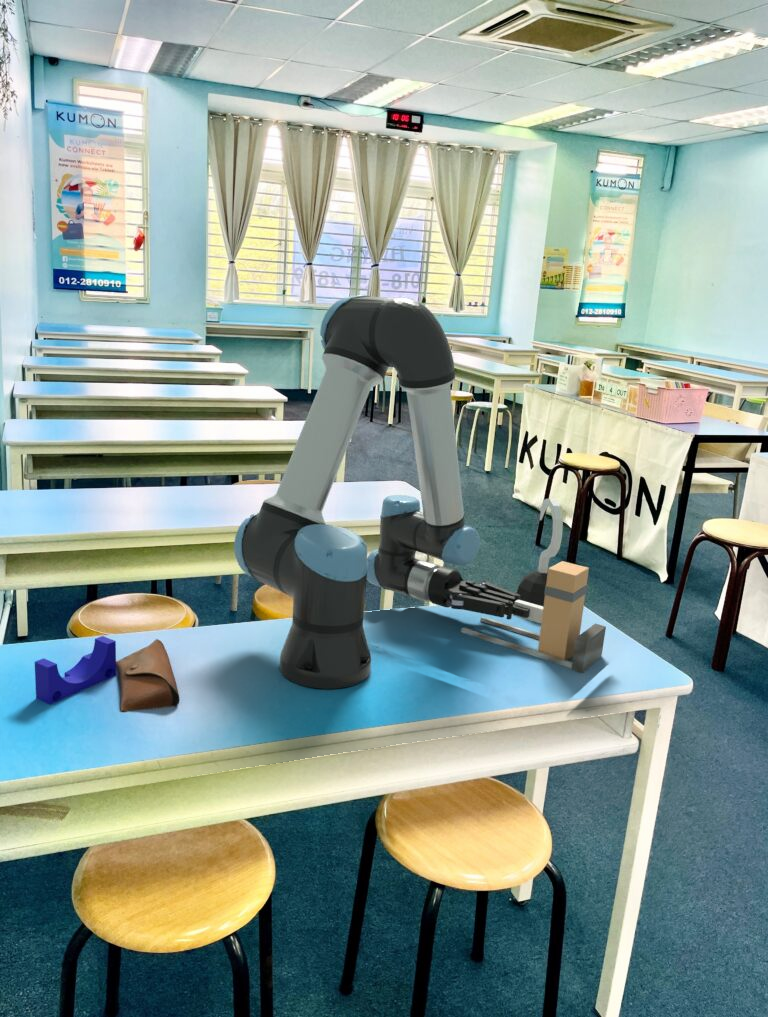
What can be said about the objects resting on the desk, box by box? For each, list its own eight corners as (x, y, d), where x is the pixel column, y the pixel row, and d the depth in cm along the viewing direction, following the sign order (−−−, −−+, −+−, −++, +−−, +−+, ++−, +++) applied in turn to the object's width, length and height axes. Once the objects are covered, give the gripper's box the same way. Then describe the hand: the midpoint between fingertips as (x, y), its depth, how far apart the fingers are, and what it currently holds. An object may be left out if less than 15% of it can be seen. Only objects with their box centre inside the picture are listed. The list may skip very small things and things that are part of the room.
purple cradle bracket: (97, 668, 125) (96, 633, 123) (116, 676, 122) (115, 641, 121) (29, 696, 114) (28, 658, 113) (49, 705, 112) (47, 667, 111)
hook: (504, 606, 164) (517, 491, 158) (554, 607, 165) (569, 493, 159) (520, 627, 153) (534, 504, 147) (573, 628, 154) (590, 507, 148)
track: (459, 640, 145) (462, 603, 143) (482, 626, 152) (486, 591, 150) (581, 680, 132) (586, 641, 130) (600, 664, 139) (605, 626, 137)
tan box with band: (536, 654, 137) (547, 568, 133) (551, 643, 142) (561, 560, 138) (564, 663, 134) (576, 575, 131) (577, 652, 139) (589, 567, 136)
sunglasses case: (110, 660, 127) (132, 625, 127) (149, 676, 130) (170, 642, 130) (120, 714, 111) (144, 674, 111) (163, 730, 114) (187, 692, 114)
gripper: (451, 594, 158) (560, 626, 145) (416, 611, 147) (530, 647, 135) (454, 558, 156) (565, 588, 143) (419, 573, 146) (535, 606, 133)
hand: (548, 616), depth 139 cm, fingers closed
